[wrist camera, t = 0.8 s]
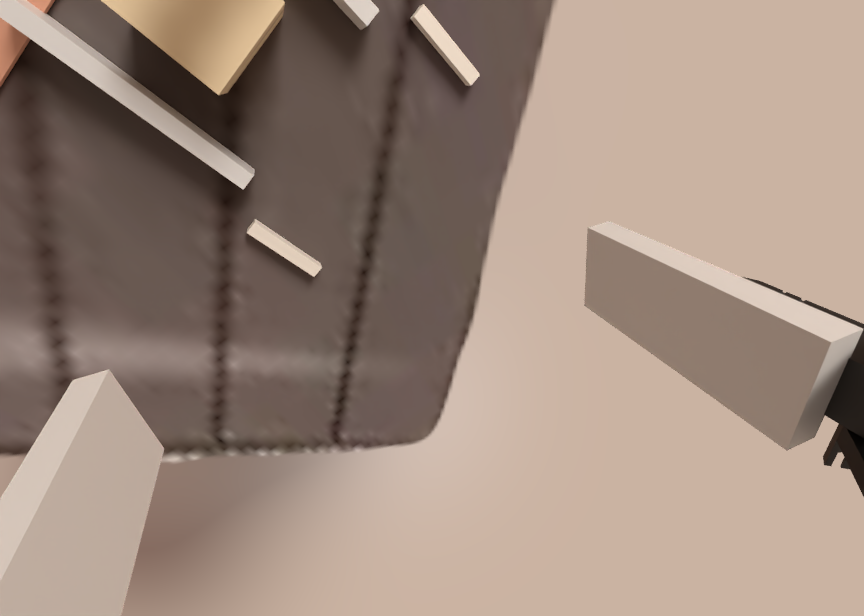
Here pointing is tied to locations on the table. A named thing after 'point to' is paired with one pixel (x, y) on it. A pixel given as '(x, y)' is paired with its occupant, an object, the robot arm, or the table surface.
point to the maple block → (205, 33)
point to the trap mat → (15, 41)
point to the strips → (459, 66)
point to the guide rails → (85, 60)
